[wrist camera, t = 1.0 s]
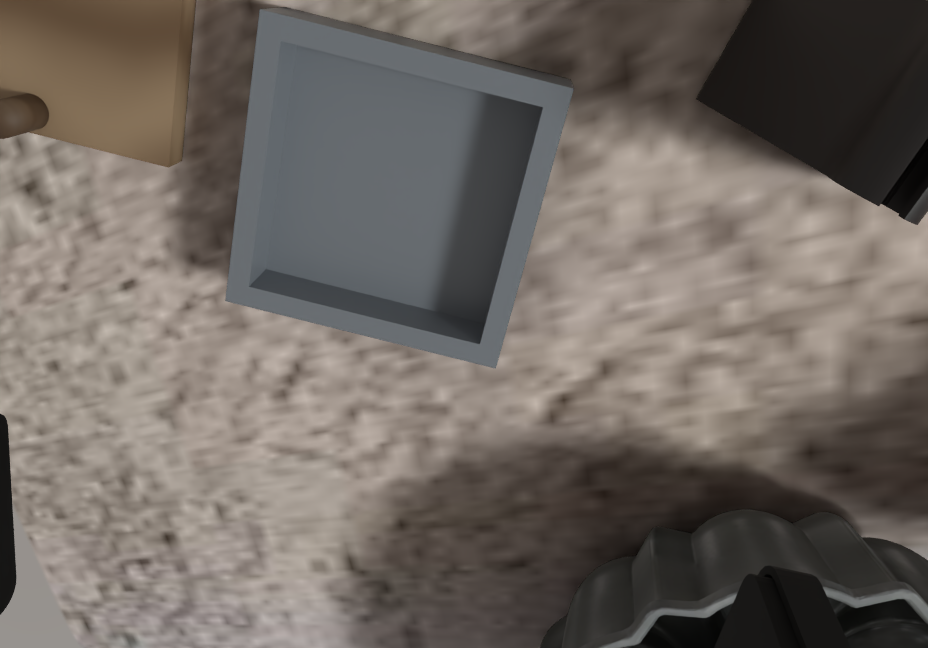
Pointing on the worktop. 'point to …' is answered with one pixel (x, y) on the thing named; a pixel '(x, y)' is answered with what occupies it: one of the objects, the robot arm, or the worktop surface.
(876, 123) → the phone stand
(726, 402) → the worktop surface
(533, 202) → the tray
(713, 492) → the worktop surface
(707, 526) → the bundt pan
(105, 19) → the peg stand
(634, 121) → the worktop surface
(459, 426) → the worktop surface
